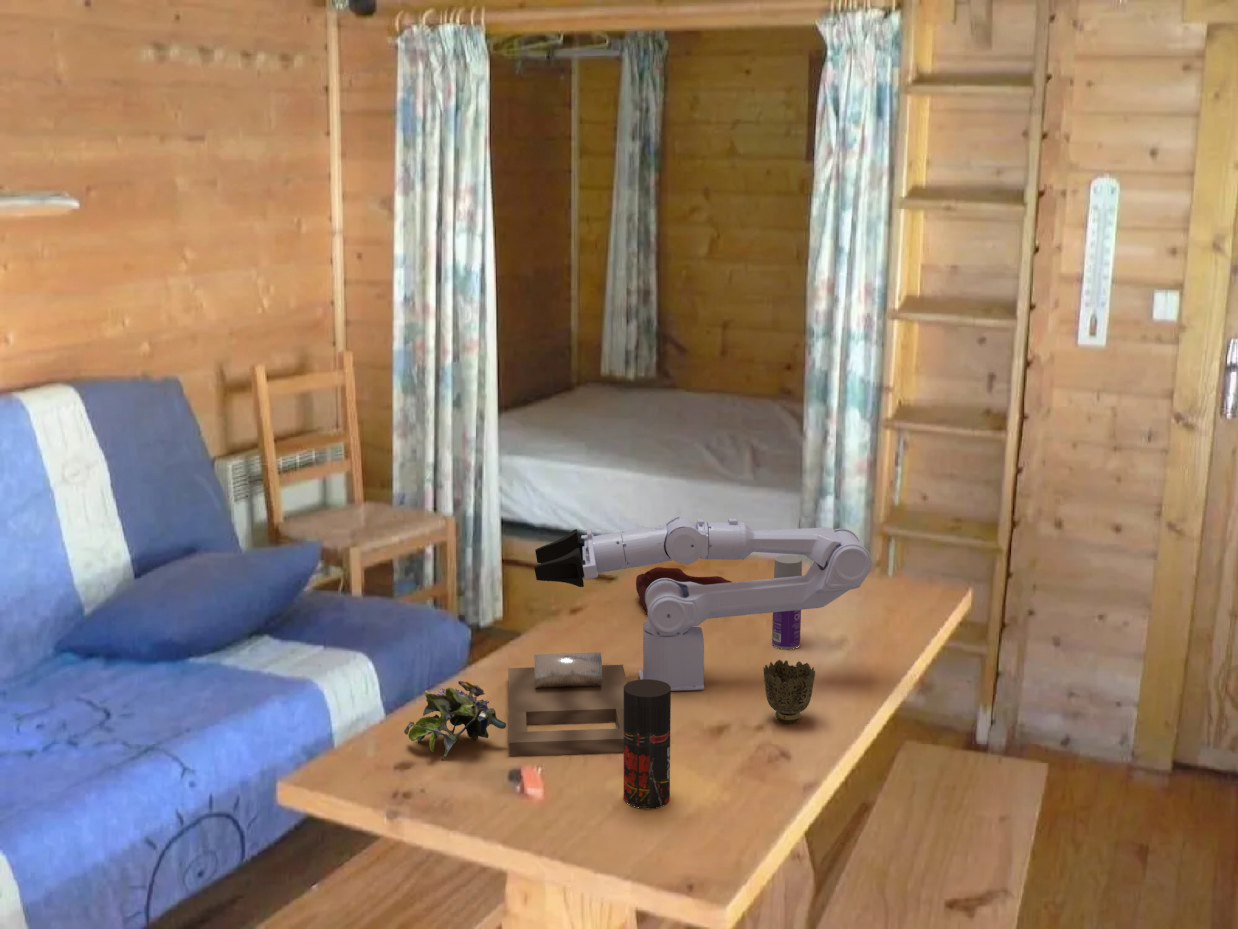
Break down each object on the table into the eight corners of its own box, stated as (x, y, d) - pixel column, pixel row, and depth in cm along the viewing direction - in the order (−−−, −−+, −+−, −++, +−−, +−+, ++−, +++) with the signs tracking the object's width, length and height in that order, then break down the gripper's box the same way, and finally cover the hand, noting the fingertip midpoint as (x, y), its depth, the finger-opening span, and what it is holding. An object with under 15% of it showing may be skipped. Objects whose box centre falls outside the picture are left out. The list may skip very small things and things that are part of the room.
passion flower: (473, 775, 194) (521, 712, 192) (441, 794, 184) (492, 728, 181) (415, 722, 197) (463, 659, 194) (381, 738, 186) (430, 672, 184)
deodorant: (621, 788, 178) (621, 680, 175) (667, 787, 178) (667, 678, 175) (625, 810, 172) (625, 697, 169) (672, 808, 173) (673, 696, 169)
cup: (818, 714, 202) (819, 662, 200) (808, 733, 195) (809, 680, 193) (768, 707, 204) (769, 656, 202) (756, 726, 197) (758, 674, 195)
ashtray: (609, 611, 248) (609, 585, 246) (659, 589, 261) (659, 563, 260) (693, 631, 238) (694, 603, 237) (740, 606, 251) (741, 580, 250)
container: (798, 650, 227) (801, 564, 224) (770, 648, 228) (772, 562, 225) (801, 641, 232) (803, 556, 228) (773, 639, 233) (775, 554, 229)
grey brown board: (622, 676, 216) (622, 664, 216) (640, 751, 189) (640, 738, 188) (508, 680, 215) (508, 668, 214) (509, 756, 187) (508, 742, 187)
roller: (599, 678, 210) (599, 647, 209) (602, 690, 205) (602, 659, 204) (534, 680, 209) (534, 649, 208) (535, 692, 204) (534, 661, 203)
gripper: (617, 511, 215) (532, 525, 215) (621, 541, 201) (530, 556, 201) (624, 553, 217) (540, 566, 217) (629, 585, 203) (538, 600, 203)
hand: (535, 564), depth 209 cm, fingers open, 7 cm apart
